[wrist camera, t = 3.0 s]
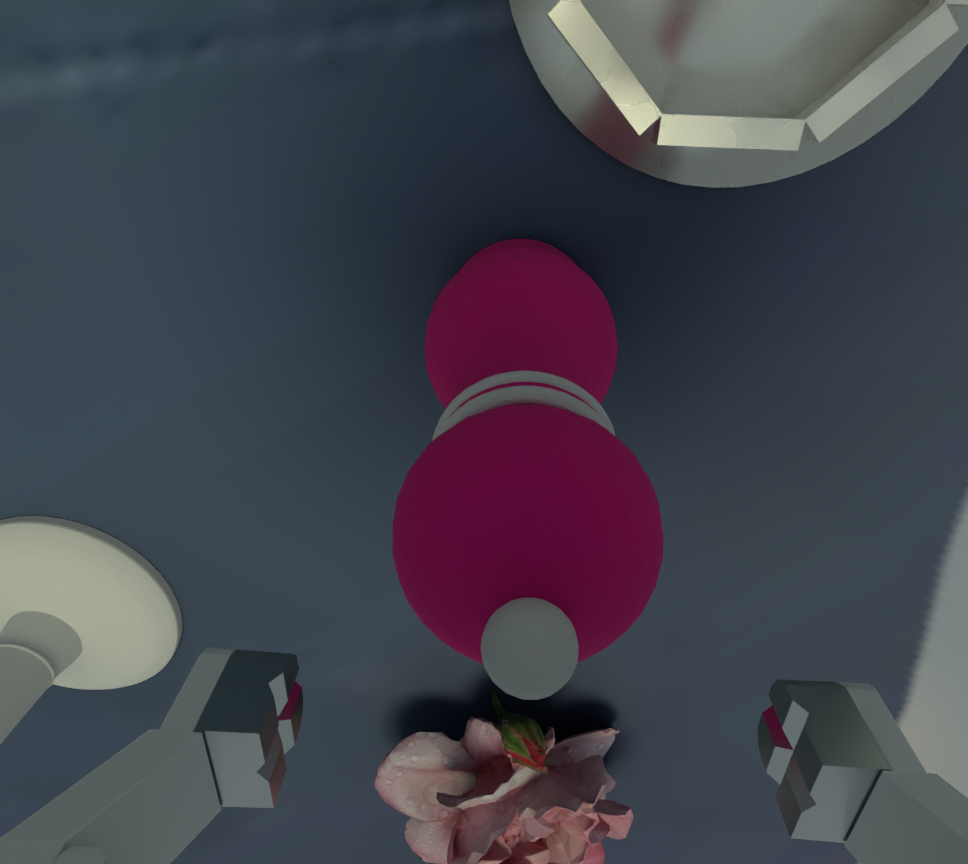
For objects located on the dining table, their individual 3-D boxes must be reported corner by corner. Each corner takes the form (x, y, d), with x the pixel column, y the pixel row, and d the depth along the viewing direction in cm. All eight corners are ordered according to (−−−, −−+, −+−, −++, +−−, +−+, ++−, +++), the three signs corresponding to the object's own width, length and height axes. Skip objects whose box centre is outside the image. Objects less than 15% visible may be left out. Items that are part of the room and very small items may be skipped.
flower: (435, 870, 45) (456, 1034, 36) (348, 710, 40) (347, 850, 31) (630, 779, 46) (700, 915, 37) (568, 614, 42) (631, 721, 32)
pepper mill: (523, 186, 26) (547, 422, 9) (636, 312, 28) (836, 698, 11) (402, 307, 29) (233, 676, 11) (515, 413, 31) (520, 855, 14)
